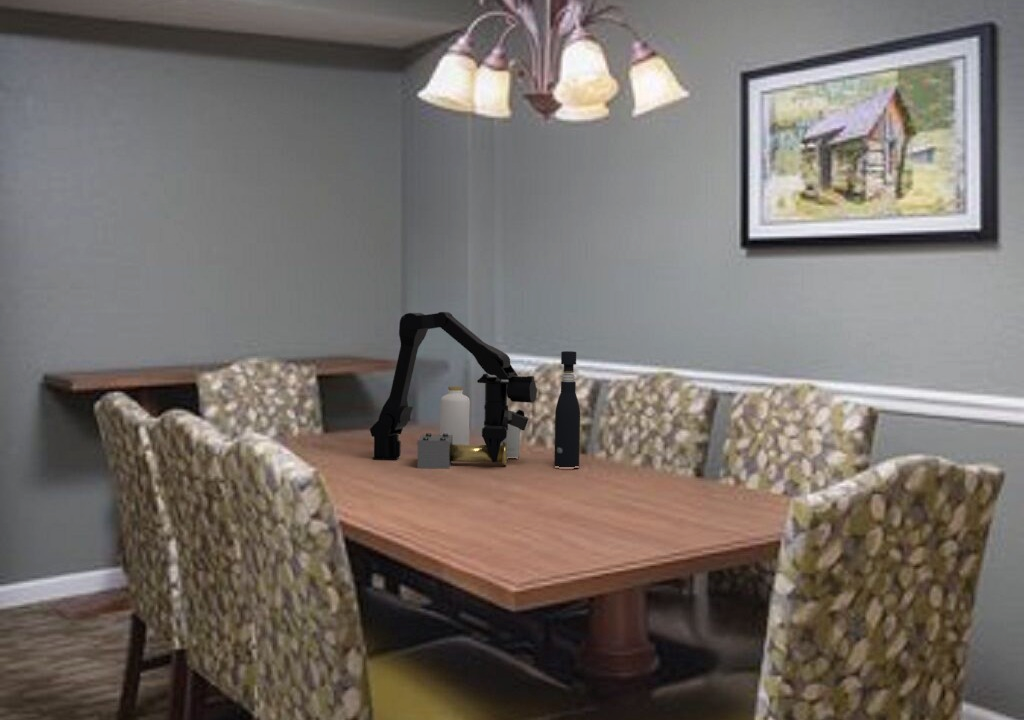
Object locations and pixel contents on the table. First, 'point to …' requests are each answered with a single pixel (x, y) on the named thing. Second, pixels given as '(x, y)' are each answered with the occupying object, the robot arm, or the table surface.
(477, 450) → the brass cylinder
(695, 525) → the table surface
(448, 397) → the white bottle
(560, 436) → the black water bottle
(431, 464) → the housing
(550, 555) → the table surface
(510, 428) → the supplement box
